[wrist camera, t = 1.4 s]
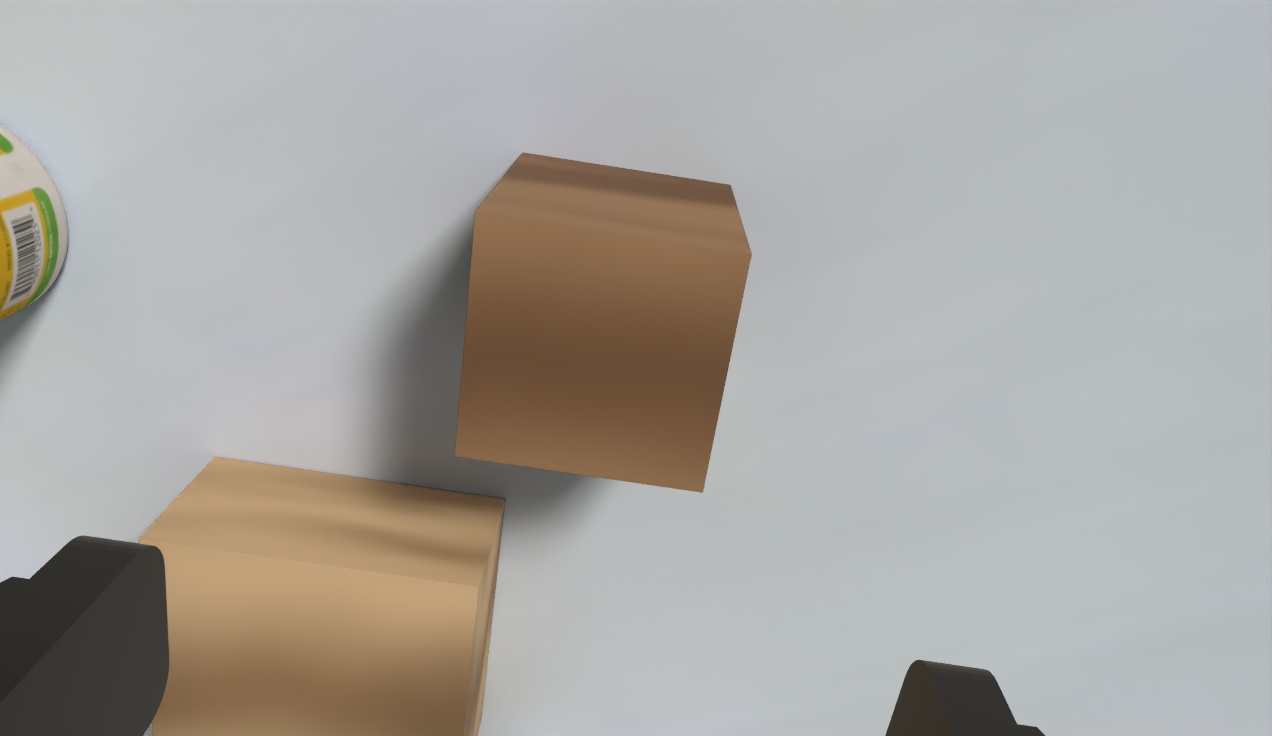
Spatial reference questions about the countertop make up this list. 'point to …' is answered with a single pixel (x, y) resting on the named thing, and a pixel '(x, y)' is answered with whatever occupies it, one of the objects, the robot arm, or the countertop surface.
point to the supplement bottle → (27, 226)
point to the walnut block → (600, 321)
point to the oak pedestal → (325, 605)
